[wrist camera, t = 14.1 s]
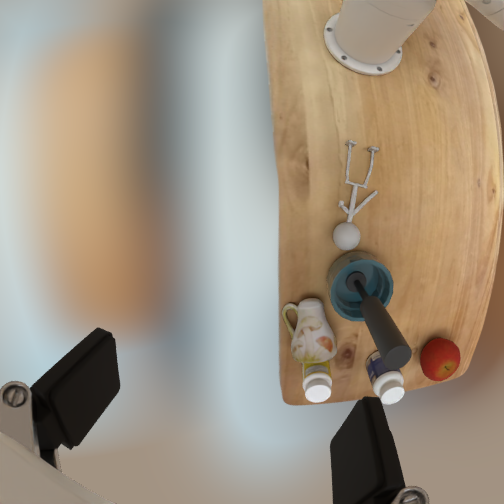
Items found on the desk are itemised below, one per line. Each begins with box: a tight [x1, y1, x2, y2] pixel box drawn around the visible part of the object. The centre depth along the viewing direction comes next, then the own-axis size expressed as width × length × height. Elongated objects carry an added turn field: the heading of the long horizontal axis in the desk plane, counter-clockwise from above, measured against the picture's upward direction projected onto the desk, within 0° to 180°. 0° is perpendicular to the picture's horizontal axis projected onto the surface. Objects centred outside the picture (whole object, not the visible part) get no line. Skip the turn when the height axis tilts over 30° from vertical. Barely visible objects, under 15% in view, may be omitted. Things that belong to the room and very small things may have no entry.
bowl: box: [327, 251, 393, 321], centre depth 38 cm, size 9×9×5 cm
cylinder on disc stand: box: [346, 271, 411, 370], centre depth 30 cm, size 3×3×20 cm
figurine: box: [333, 140, 379, 250], centre depth 34 cm, size 6×6×15 cm
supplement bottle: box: [302, 360, 332, 403], centre depth 41 cm, size 5×5×8 cm
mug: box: [282, 298, 337, 363], centre depth 40 cm, size 8×10×10 cm
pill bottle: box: [366, 351, 404, 404], centre depth 39 cm, size 5×5×10 cm
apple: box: [420, 338, 461, 381], centre depth 37 cm, size 8×8×8 cm
